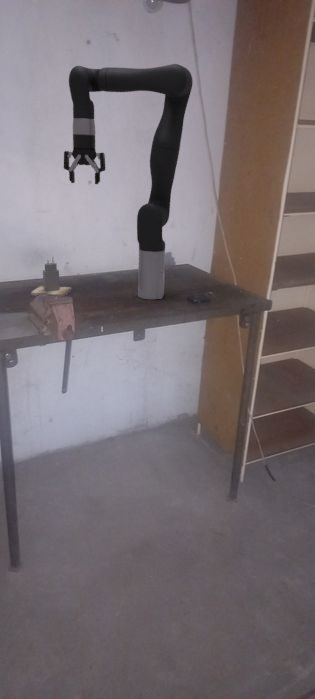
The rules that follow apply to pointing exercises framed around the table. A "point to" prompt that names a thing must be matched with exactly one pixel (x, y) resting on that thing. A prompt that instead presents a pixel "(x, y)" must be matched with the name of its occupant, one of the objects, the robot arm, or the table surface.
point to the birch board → (58, 292)
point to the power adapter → (51, 277)
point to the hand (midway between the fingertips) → (84, 183)
